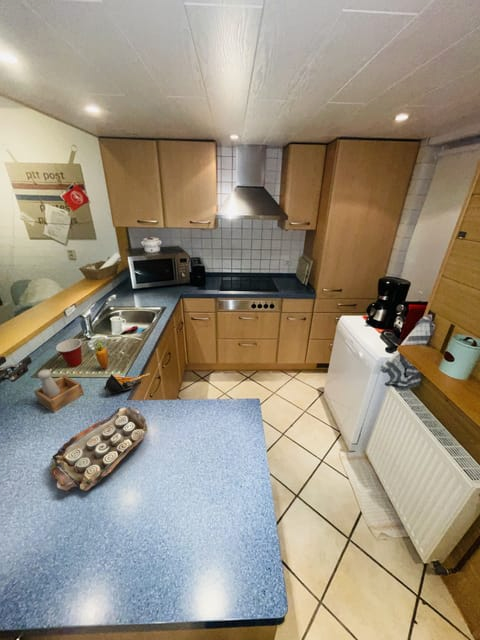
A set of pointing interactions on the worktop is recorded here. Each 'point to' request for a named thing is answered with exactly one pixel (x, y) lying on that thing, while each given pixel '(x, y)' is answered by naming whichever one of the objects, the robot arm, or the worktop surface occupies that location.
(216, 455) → the worktop surface
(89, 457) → the baking tray
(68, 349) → the plastic cup
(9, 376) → the robot arm
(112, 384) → the fried shrimp in bowl
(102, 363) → the carrot
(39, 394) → the box
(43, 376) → the salt shaker
